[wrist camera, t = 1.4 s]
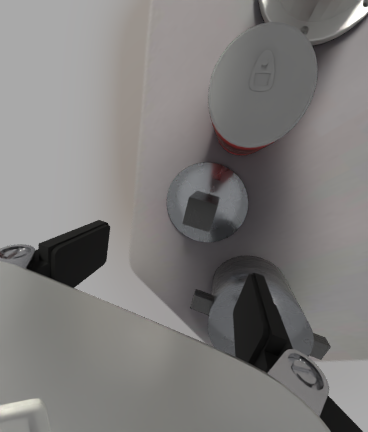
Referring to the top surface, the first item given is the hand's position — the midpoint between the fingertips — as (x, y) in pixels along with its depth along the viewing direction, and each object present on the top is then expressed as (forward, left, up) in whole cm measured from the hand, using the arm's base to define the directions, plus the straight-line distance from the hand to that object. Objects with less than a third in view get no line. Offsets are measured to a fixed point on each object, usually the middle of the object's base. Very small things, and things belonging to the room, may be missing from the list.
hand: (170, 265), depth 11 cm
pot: (+12, +11, -18) cm, 24 cm away
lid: (0, 0, -18) cm, 18 cm away
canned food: (-12, +2, -18) cm, 22 cm away
